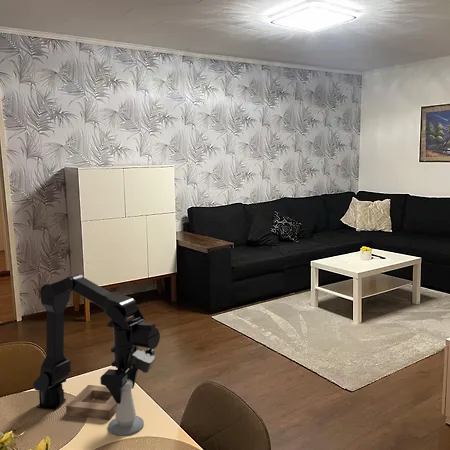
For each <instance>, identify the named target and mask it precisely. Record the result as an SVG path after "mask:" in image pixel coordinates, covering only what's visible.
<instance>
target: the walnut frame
mask: <svg viewBox="0 0 450 450" xmlns="http://www.w3.org/2000/svg"><path fill="white" fill-rule="evenodd" d="M93 400H96V401H97V400H99V401H106V402H105V403H96V402H92V401H93ZM116 410H117V403H116V401H115V400H114V398H113V396H112V395H111V393H110V391H109V390H108V388H107V387H106V386H104V385H94V384H88V385H87V386H86V387H85V388H83V389H82V390H81V391H80V392H79V393H78V394H77V395H76V396H75V397H74V398H73V399H72V400H70V402H68V403H67V404H66V405H65V411H66V412H65V414H66V416H70V417H77V418H78V417H79V418H85V419H86V418H88V419H97V420H105V421H111V420H112V419H113V417H114V416H116Z"/></svg>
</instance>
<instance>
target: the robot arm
mask: <svg viewBox="0 0 450 450" xmlns="http://www.w3.org/2000/svg"><path fill="white" fill-rule="evenodd" d="M71 292H75V293H76V294H78V295H80V296H82V297H83V298H84V299H86V300H89V301H90V302H92V303H93V304H95V305H97V306H98V307H100V308H101V309H102V310H103V312H104V314H105V315H106V316H107V317H108V318H109V319H111V320H110V321H108V323H107V324H106V327H108V328H112V329H113V347H112V348H110V351H111V353H113V361H112V362H111V367H114V368H115V369H112V368H109V369H107V370H106V371H105V372H104V373H103V374H102V375H101V376H100V378H99V379H100V386H105V387H107V388H108V390H109V391H110V393H111V395H112V396H113V398H114V400H115V401H116V403H117V404H120V403H121V398H122V389H123V386H124V385H125V384H126V383H127V381H126V380H127V379H130V380H131V381H132V383H133V387H132V389H134V387H135V384H136V381H137V376H138V372H139V371H141V372H143V373H147V374H148V373H149V372H150V370H151V369H152V368H153V366H154V362H155V361H156V359H157V358H156V355H155V349H157V347H158V345H159V343H160V339H161V333H160V331H159V329H158V328H157V327H156V323H153V322H145V321H146V319H145V317H144V315H143V313H142V312H141V310H140V308H139V307H138V305H137V302H136V300H135V299H134V298H132V297H131V296H127V295H125V294H121V293H120V294H119V293H118V294H117V293H114V292H110V291H109V290H107V289H105V288H103V287H102V286H100V285H98V284H97V283H95V282H93V281H91V280H90V279H88V278H85V277H84V275H82V274H79V273H76V274H73V275H69V276H66V278H64V279H59V280H56V281H52V282H49V283H45V284H43V285H42V286H41V287H40V290H39V295H40V301H41V305H42V306H43V308H44V309H45V311H46V353H45V354H46V355H45V358H44V359H43V362H42V364H41V366H40V372H39V376H38V377H37V378H36V379H35V380H34V381H33V383H32V385H33V388H34V390H35V391H38V397H39V403H38V404H37V405H36V409H40V410H42V409H43V410H44V409H45V410H52V411H56V410H57V409H58V408H59V407H60V406H61V405H62V404H64V403H65V402H66V400H67V399H66V398H65V390H64V389H63V383H66V382H67V379H68V377H69V376H70V373H71V372H72V369H71V363H72V362H71V359H68V358H67V357H66V356H65V353H64V351H65V350H64V348H65V346H64V345H65V344H64V341H65V340H64V339H65V338H64V335H65V333H64V331H65V329H64V328H65V326H64V325H65V309H66V307H67V305H68V303H69V301H70V298H71ZM132 317H133V318H132ZM130 318H131V319H130ZM139 348H144V349H146V350H144V349H142V350H139ZM132 389H131V390H132Z"/></svg>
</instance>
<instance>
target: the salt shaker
mask: <svg viewBox="0 0 450 450" xmlns="http://www.w3.org/2000/svg"><path fill="white" fill-rule="evenodd" d="M126 381H127V383H126V384H125V385H124V386H123V389H122V398H121V403H120V404H117V410H116V413H115V418H116V421H117V422H118V424H119V425H120V427H125V428H127V427H129V426H132V424H133V422H134V420H135V418H136V416H137V413H136V409H135V403H134V398H133V393H132V387H133V383H132V381H131V380H130V379H127V380H126Z"/></svg>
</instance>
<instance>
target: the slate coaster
mask: <svg viewBox="0 0 450 450" xmlns="http://www.w3.org/2000/svg"><path fill="white" fill-rule="evenodd" d="M144 423H145V422H144V419H143V418H142V417H140V416H138V415H136V418H135V420H134V422H133V424H132V426H129V427H127V428H125V427H120V425H119V424H118V422H117V421H116V417H115V418H112V419H111V420H110V422H109V423H108V431H109V433H110V434H112V435H115V436H118V437H120V436H121V437H125V436H132V435H134V434H137V433H139V432H140V431H141V430H143V428H144V427H145V424H144Z"/></svg>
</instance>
